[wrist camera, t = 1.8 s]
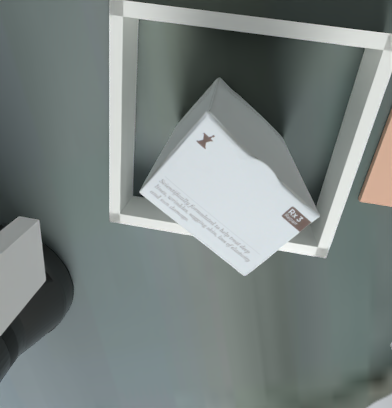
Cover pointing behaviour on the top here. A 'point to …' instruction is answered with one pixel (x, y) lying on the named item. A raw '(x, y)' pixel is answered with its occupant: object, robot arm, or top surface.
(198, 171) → the skincare box
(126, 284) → the top surface
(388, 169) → the tile
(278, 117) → the top surface
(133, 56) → the bin
